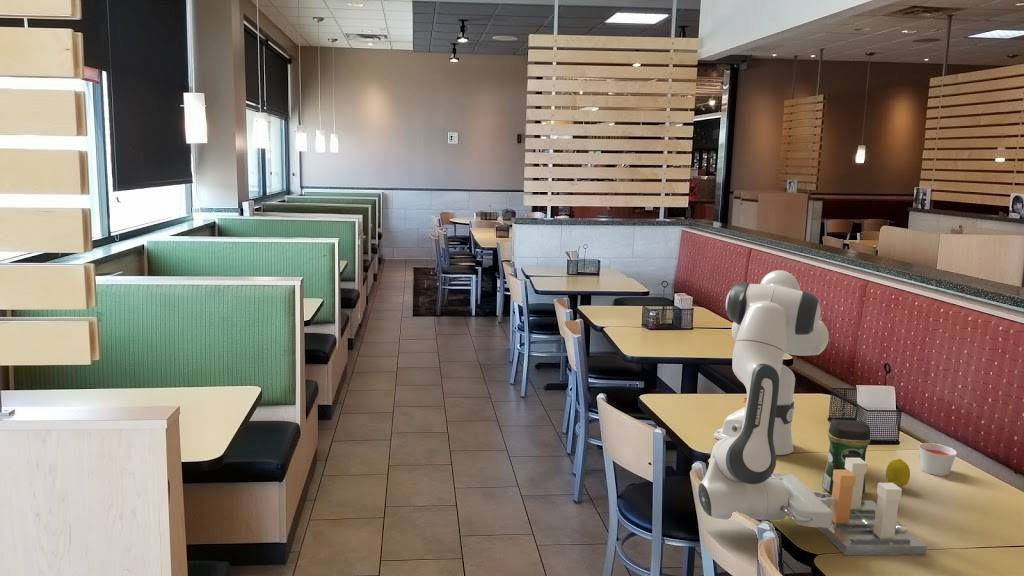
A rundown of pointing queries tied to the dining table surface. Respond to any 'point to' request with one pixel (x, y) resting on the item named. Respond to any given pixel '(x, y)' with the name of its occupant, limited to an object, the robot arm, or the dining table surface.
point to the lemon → (898, 473)
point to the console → (871, 535)
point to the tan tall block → (842, 495)
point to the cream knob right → (886, 510)
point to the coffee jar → (845, 447)
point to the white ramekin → (936, 458)
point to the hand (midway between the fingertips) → (832, 499)
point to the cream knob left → (858, 470)
